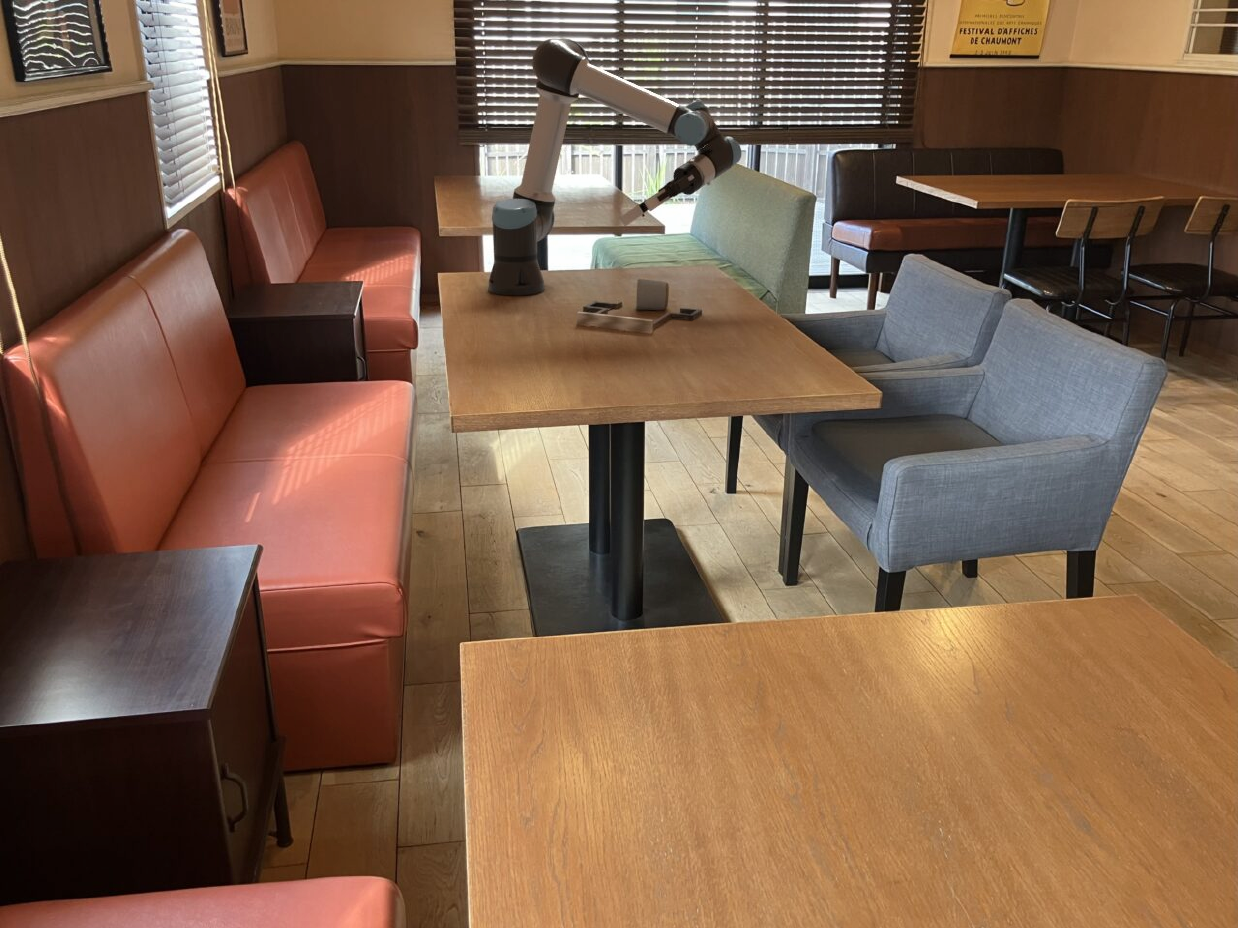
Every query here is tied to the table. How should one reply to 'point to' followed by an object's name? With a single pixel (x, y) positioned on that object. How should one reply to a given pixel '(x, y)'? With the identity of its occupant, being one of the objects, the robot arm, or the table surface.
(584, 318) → the frame with square trays
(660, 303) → the ceramic mug
